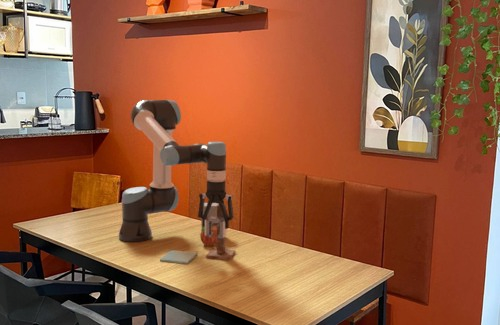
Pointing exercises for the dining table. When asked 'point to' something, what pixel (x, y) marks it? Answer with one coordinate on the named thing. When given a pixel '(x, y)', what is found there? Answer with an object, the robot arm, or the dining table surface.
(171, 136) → the robot arm
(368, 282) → the dining table surface
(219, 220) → the c link
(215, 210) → the skincare box
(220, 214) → the stand
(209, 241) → the fruit
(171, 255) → the coaster
